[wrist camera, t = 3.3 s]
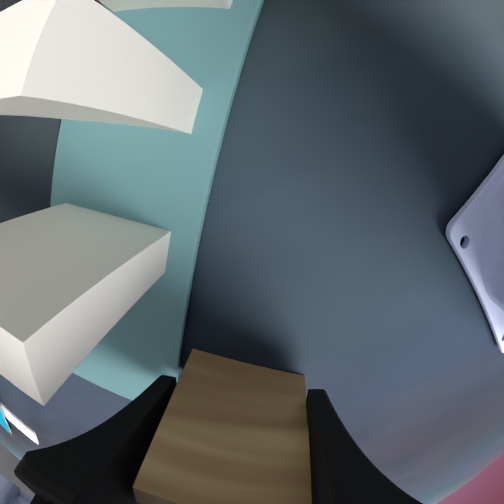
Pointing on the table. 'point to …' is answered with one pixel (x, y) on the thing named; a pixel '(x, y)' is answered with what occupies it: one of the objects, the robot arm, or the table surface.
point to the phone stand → (15, 423)
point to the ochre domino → (229, 438)
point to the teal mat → (157, 183)
